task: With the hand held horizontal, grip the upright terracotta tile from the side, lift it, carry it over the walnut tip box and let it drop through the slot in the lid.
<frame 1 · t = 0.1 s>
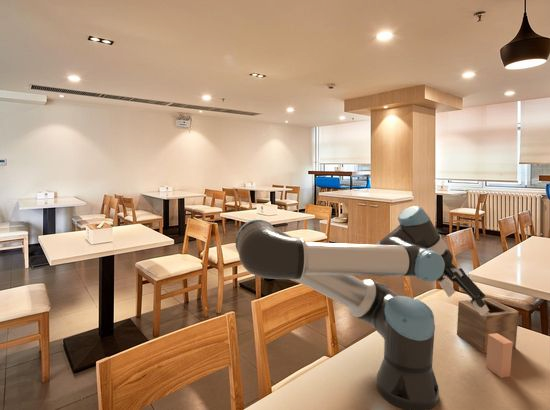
hand: (467, 302, 103), 15 cm above the table, tool tilted 35°, fingers open, 13 cm apart
tile: (497, 371, 93), on the table
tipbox: (485, 341, 108), on the table
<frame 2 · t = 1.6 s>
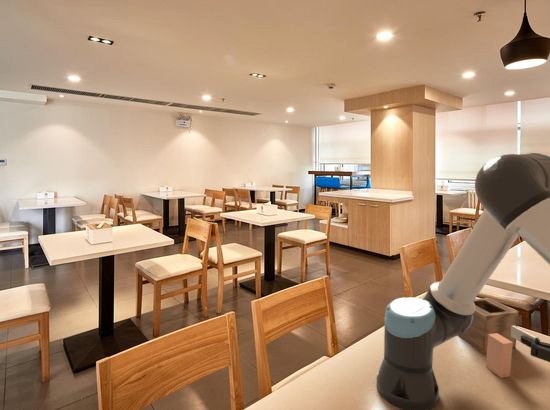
hand: (535, 327, 81), 18 cm above the table, tool horizontal, fingers open, 13 cm apart
nothing on the table moved.
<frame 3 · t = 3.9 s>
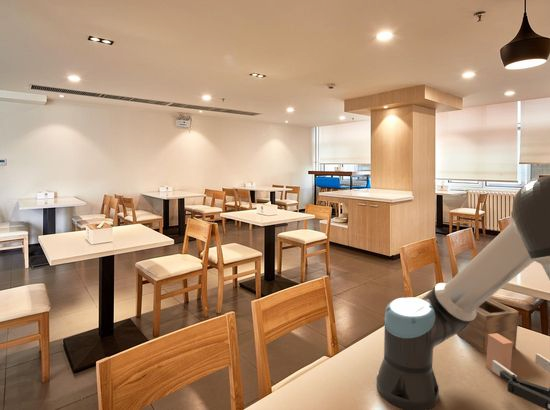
hand: (515, 361, 88), 6 cm above the table, tool horizontal, fingers open, 13 cm apart
nothing on the table moved.
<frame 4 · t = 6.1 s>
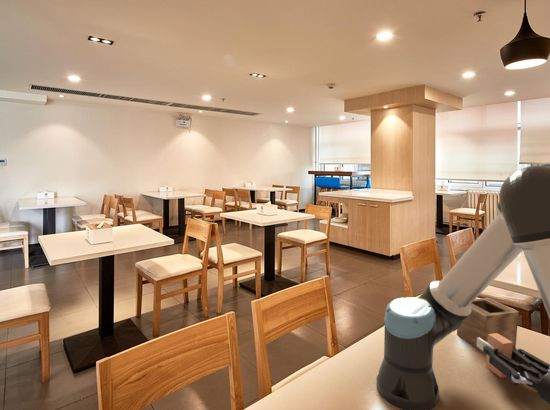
hand: (483, 341, 97), 6 cm above the table, tool horizontal, fingers closed on tile, 3 cm apart
tile: (497, 371, 93), on the table, touching gripper
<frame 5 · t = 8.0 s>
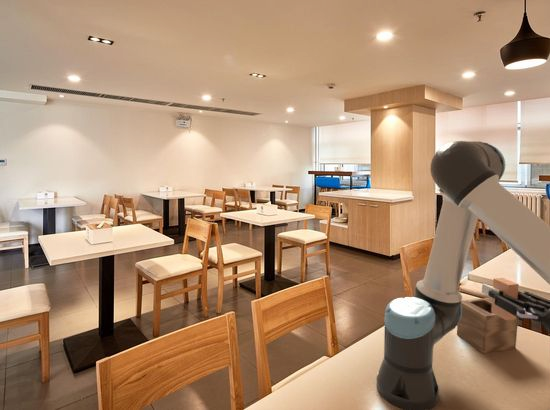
hand: (488, 287, 97), 22 cm above the table, tool horizontal, fingers closed on tile, 3 cm apart
tile: (503, 315, 92), point 16 cm above the table, touching gripper
when the fingers open (19 cm above the table, at t = 9.7 s): tile drops 12 cm, resting on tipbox.
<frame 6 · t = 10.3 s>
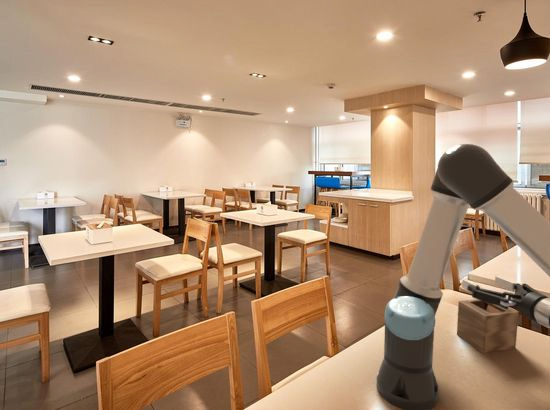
hand: (479, 281, 109), 19 cm above the table, tool horizontal, fingers open, 12 cm apart
tile: (486, 337, 108), point 1 cm above the table, tilted 21°, touching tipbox
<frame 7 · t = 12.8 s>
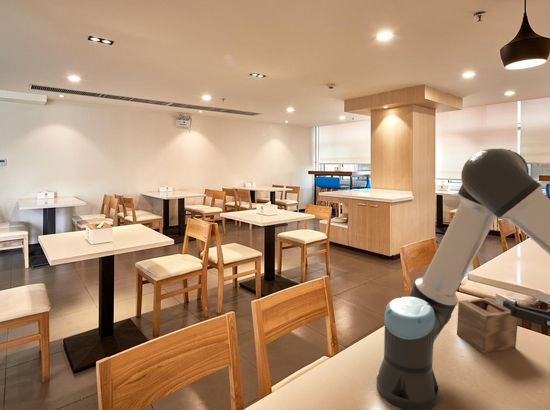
hand: (516, 295, 95), 20 cm above the table, tool horizontal, fingers open, 13 cm apart
nothing on the table moved.
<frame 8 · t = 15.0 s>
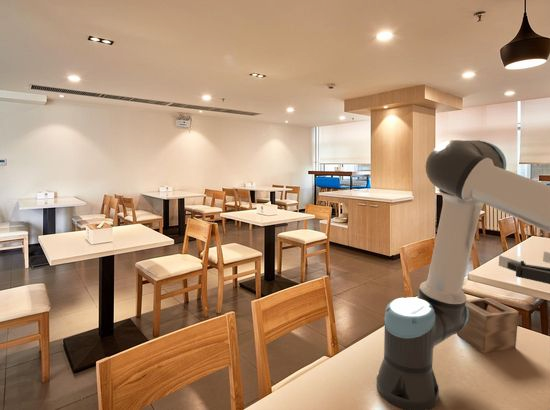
hand: (522, 258, 85), 34 cm above the table, tool horizontal, fingers open, 13 cm apart
nothing on the table moved.
at the end: tile inside the target area on the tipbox (0.3 cm from its centre), point 1.3 cm above the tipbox's base; the gripper is holding nothing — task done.
